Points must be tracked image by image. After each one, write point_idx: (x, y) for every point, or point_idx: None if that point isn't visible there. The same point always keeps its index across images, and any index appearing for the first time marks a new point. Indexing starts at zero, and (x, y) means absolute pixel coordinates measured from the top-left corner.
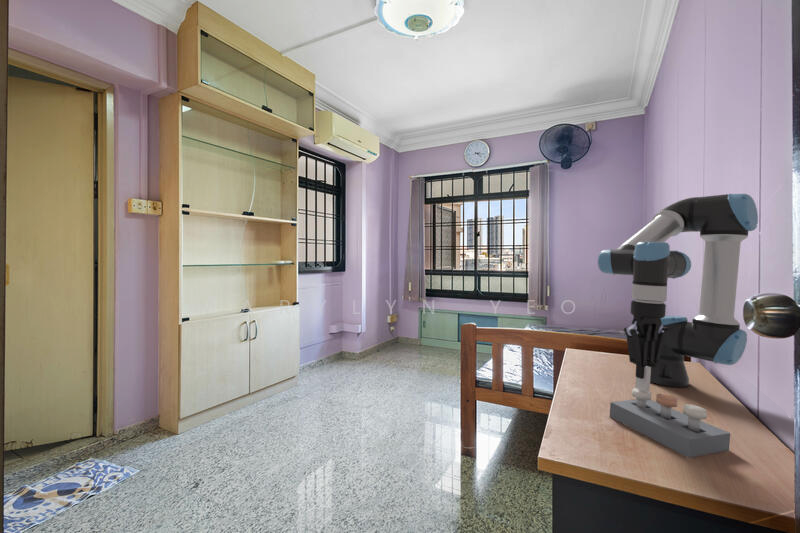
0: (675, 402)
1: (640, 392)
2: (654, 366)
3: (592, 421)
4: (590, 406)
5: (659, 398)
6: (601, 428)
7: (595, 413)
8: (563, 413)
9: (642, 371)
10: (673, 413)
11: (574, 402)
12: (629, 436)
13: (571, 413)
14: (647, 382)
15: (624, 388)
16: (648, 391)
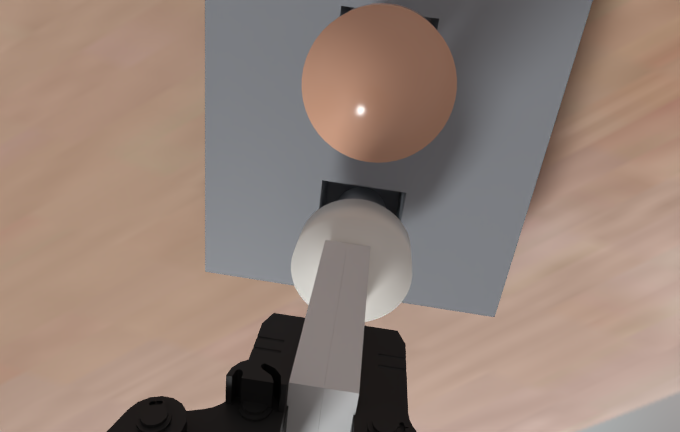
0: (390, 4)
1: (395, 261)
2: (260, 370)
3: (615, 273)
4: (441, 368)
5: (452, 106)
6: (661, 210)
7: (500, 317)
8: (656, 372)
9: (383, 378)
10: (278, 69)
11: (472, 417)
12: (623, 98)
13: (618, 359)
14: (346, 285)
15: (68, 415)
16: (335, 242)
